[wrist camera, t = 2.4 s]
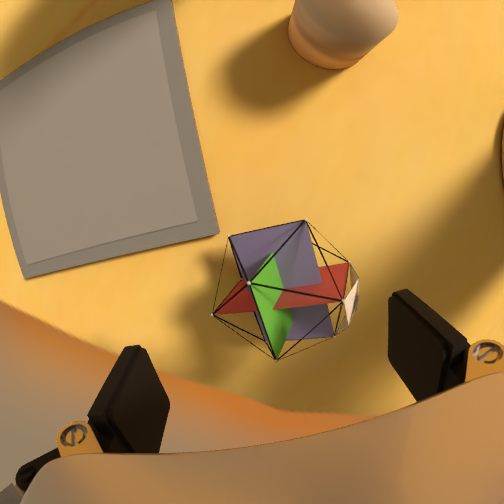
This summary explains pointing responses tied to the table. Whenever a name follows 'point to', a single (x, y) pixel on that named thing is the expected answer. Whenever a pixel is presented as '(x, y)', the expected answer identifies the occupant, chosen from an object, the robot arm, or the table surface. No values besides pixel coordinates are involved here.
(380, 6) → the tan rounded cylinder
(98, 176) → the felt mat
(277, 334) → the geometric puzzle
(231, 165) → the table surface
